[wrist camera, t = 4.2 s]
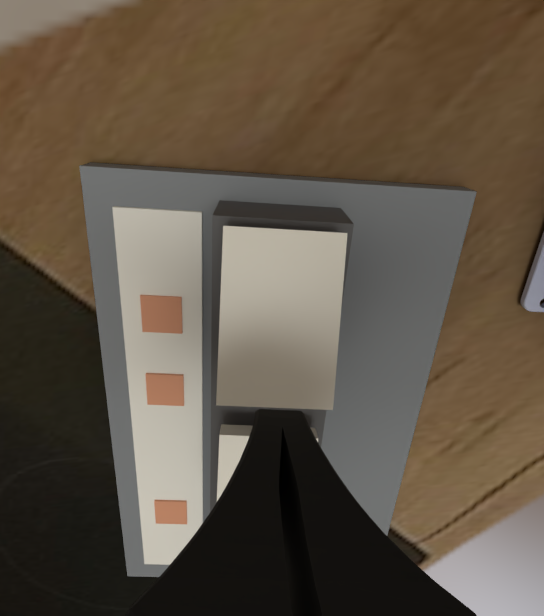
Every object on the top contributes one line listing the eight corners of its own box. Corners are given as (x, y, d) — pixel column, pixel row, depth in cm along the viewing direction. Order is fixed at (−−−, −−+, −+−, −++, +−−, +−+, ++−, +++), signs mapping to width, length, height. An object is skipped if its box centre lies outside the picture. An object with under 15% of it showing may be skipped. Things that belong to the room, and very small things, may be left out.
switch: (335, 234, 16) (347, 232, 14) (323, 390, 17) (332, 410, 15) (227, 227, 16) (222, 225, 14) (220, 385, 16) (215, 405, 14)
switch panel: (463, 186, 19) (513, 205, 15) (370, 563, 29) (386, 628, 25) (90, 162, 18) (47, 175, 14) (132, 558, 28) (113, 624, 25)
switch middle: (311, 418, 19) (318, 438, 17) (302, 538, 20) (308, 570, 18) (223, 415, 19) (219, 434, 17) (218, 536, 20) (214, 568, 18)
